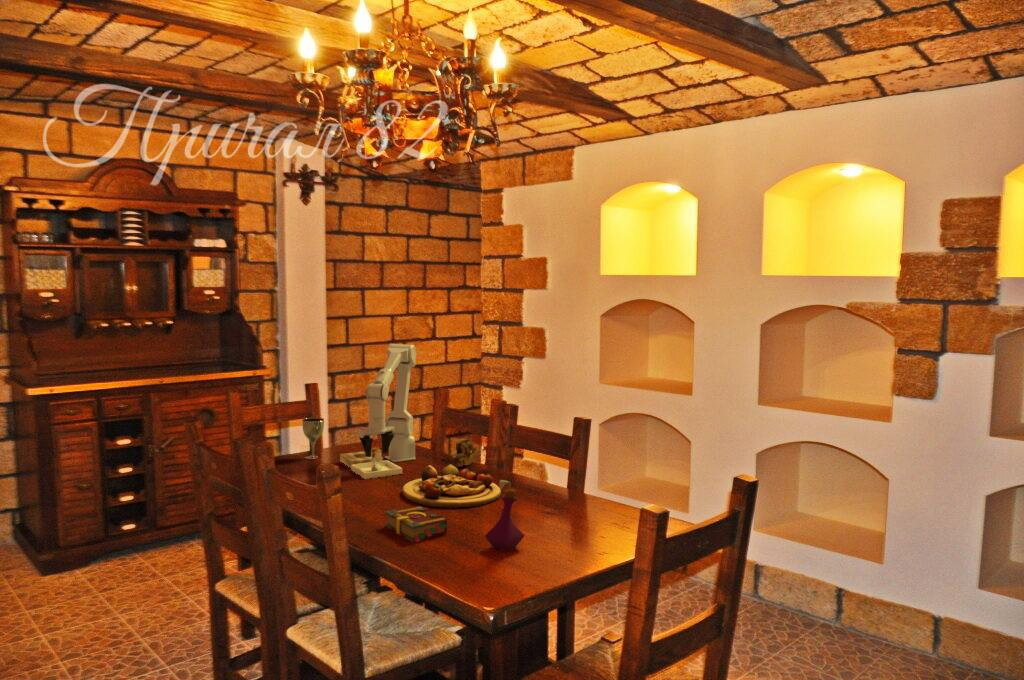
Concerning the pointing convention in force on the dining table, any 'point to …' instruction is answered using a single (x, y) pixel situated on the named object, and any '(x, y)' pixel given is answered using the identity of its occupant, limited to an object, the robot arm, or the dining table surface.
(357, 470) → the tray
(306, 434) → the wine glass
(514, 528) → the perfume bottle
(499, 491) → the wooden plate with food
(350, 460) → the hitch block
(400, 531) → the decorative book
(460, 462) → the wooden carving
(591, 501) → the dining table surface
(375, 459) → the peg
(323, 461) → the dining table surface
